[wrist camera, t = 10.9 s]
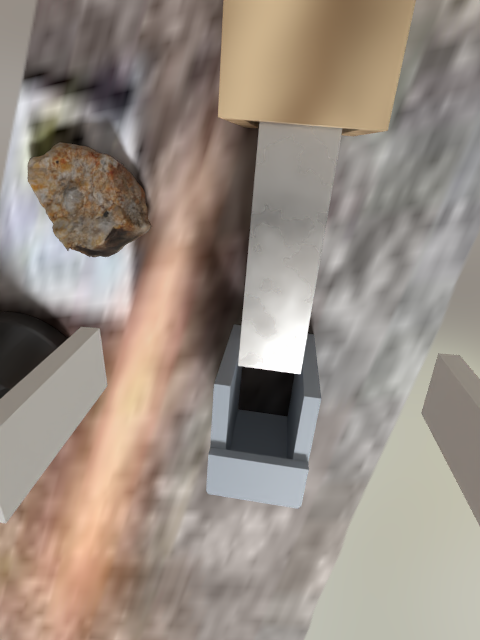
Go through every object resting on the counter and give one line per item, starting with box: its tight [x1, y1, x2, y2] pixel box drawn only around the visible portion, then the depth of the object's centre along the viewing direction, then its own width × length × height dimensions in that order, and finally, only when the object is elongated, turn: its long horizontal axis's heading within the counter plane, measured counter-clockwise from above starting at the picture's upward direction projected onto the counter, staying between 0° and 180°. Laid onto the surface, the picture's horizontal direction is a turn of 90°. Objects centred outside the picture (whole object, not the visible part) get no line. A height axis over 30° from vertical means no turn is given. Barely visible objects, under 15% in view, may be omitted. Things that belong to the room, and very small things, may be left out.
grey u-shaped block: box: [206, 325, 321, 509], centre depth 34 cm, size 8×11×11 cm
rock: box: [28, 142, 151, 257], centre depth 31 cm, size 9×6×10 cm
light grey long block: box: [238, 121, 342, 374], centre depth 28 cm, size 5×18×9 cm, turn 176°
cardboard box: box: [218, 0, 416, 136], centre depth 23 cm, size 8×7×12 cm
